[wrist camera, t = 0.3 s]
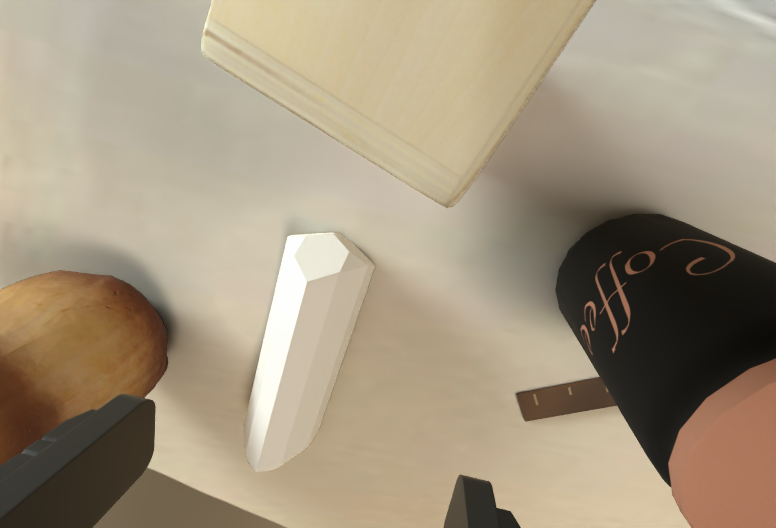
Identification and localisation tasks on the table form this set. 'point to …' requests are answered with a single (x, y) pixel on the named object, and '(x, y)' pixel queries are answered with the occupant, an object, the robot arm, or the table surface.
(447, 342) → the table surface
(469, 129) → the beige tall block
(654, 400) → the coffee jar
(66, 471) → the robot arm
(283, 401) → the crystal
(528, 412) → the walnut ruler
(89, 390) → the butternut squash
